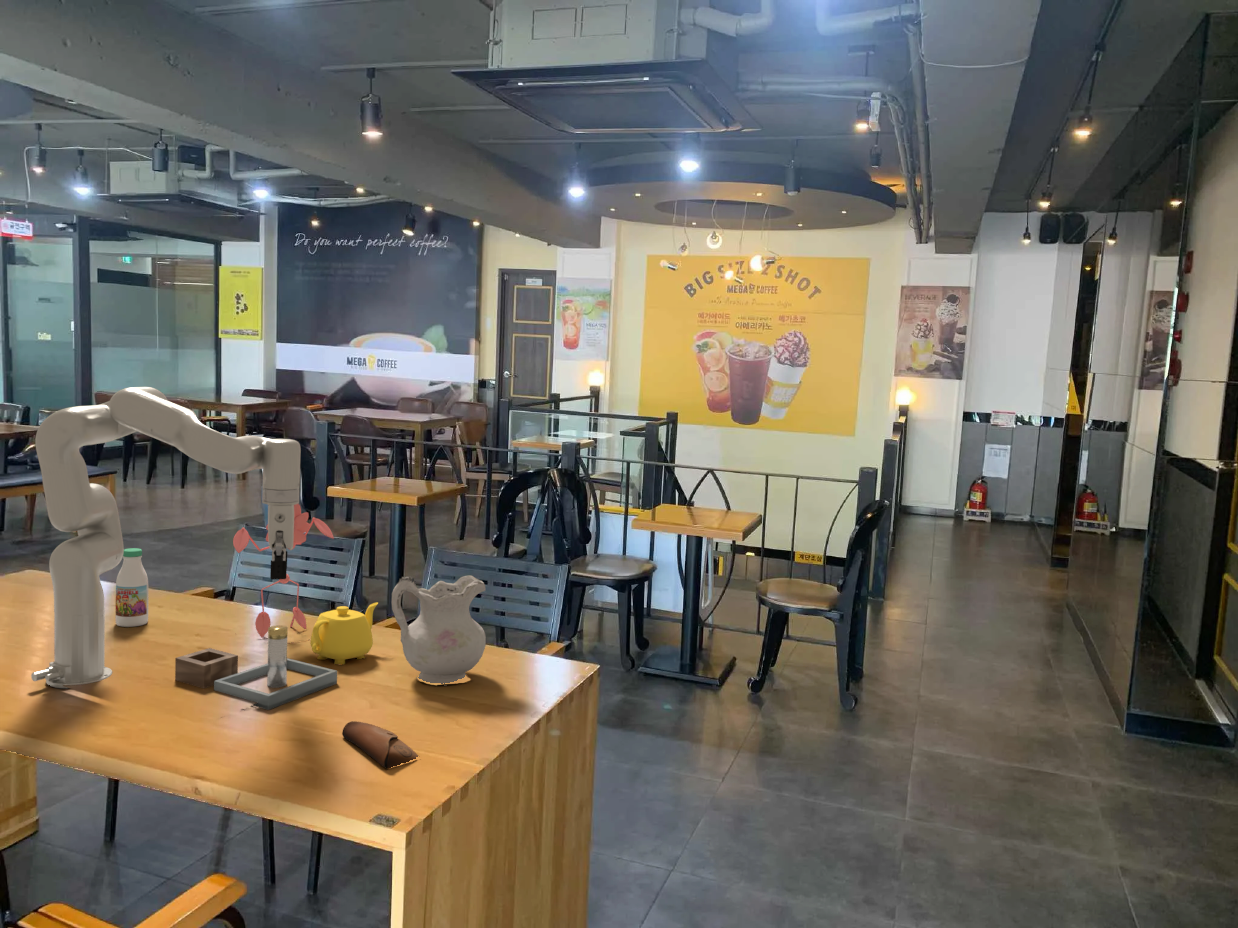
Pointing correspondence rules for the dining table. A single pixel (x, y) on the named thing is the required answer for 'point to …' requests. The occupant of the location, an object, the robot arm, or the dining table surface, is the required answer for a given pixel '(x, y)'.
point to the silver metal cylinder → (277, 656)
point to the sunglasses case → (378, 743)
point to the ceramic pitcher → (441, 629)
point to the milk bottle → (132, 590)
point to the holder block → (205, 667)
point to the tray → (279, 697)
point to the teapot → (343, 634)
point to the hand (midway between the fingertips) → (278, 573)
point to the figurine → (299, 528)
